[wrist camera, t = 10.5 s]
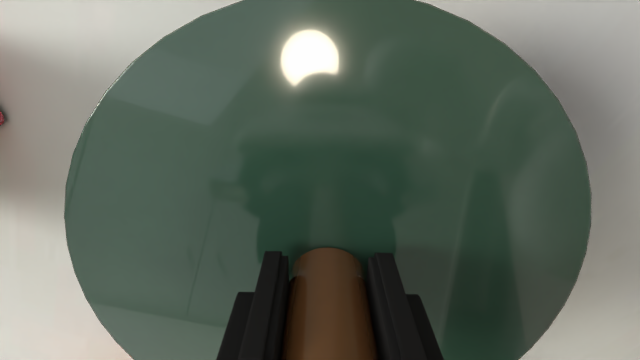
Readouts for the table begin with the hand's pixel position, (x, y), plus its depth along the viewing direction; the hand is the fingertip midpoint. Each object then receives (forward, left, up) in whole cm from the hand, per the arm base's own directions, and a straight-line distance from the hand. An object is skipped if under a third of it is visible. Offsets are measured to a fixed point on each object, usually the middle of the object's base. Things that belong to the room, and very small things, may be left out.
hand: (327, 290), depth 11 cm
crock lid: (0, 0, -1) cm, 1 cm away
